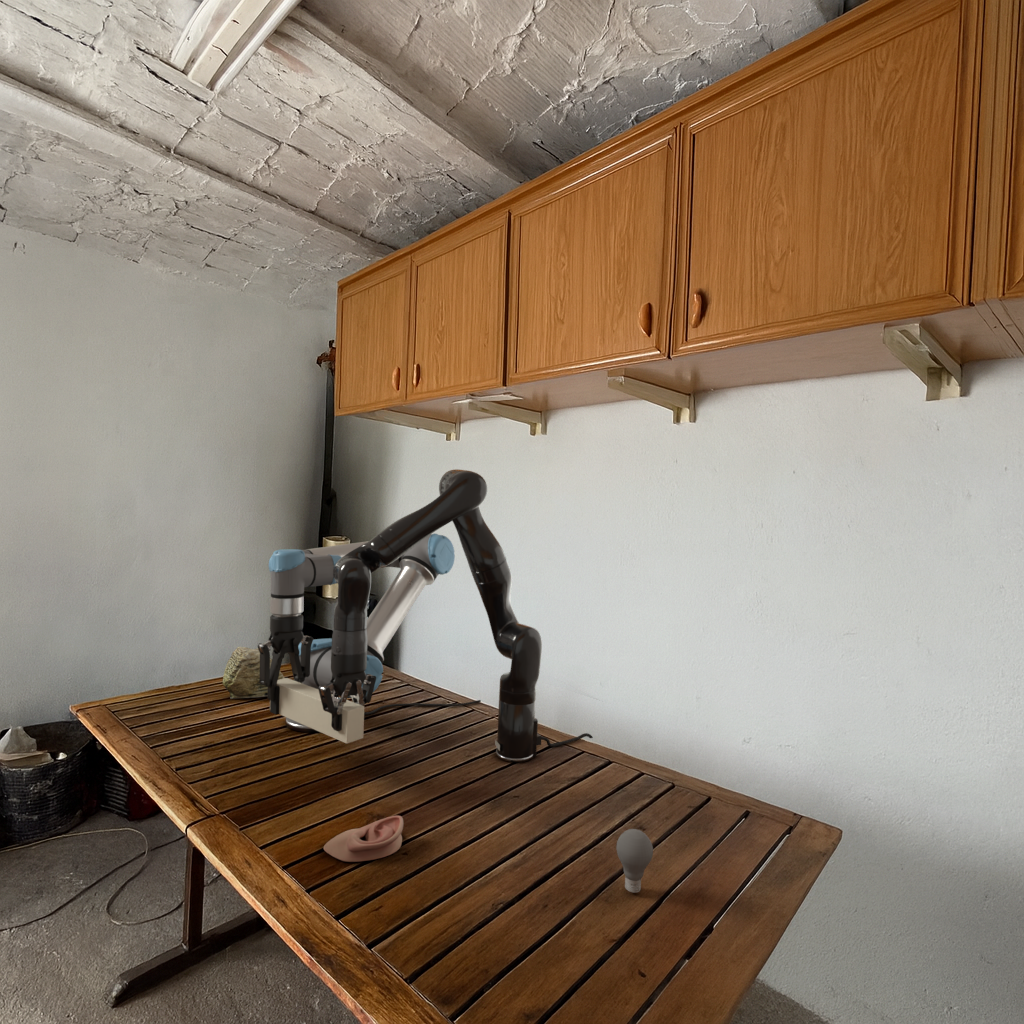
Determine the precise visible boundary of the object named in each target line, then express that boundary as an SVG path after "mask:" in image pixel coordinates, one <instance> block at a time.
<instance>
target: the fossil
mask: <svg viewBox="0 0 1024 1024" xmlns="http://www.w3.org/2000/svg"><path fill="white" fill-rule="evenodd" d="M271 662H272V658H271V657H270V666H271ZM222 676H223V677H222V685H223V687H224V688H225V690H226V691H228V693H229V698H230V699H250V698H264V697H267V694H268V687H267V686H264V685H262V684H260V652H259V649H258V647H257V648H251V647H247V646H246V647H245V646H238V647H237V648H236V649H235V650H233V651H232V653H231V656H230V657H229V659H228V660H227V663H226V666H225V668H224V671H223V675H222ZM284 678H286V677H285V676H284V674H283V673H282V672H281V671H280V672H279V677H278V680H279V679H284Z"/></svg>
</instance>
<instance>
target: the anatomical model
mask: <svg viewBox="0 0 1024 1024" xmlns="http://www.w3.org/2000/svg"><path fill="white" fill-rule="evenodd" d="M403 829H404V818H403V816H401V815H392V816H391V815H390V816H388V817H384V818H381V819H379V820H376V821H373V822H371V823H368V824H367V825H364V826H362V827H359V828H352V829H348V830H345V831H343V832H341V833H339V834H337V835H335V836H334V837H332V838H330V840H328V841H327V842H326V843H325V844H324V846H323V850H324V852H326V853H327V854H328V855H330V856H331V857H333V858H335V859H337V860H339V861H341V862H346V863H356V862H366V861H373V860H374V861H375V860H377V859H378V860H379V859H382V858H385V857H387V856H390V855H392V854H395V853H396V852H398V850H399V849H401V846H402V843H403V836H402V833H403Z"/></svg>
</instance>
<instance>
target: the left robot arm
mask: <svg viewBox="0 0 1024 1024" xmlns="http://www.w3.org/2000/svg"><path fill="white" fill-rule="evenodd" d="M368 541H369V540H368ZM368 541H360V542H353V543H352V542H351V543H344V544H336V545H330V546H323V547H314V548H307V549H297V548H296V549H295V548H289V549H287V548H286V549H285V548H282V549H276V550H274V551H273V552H272V554H271V556H270V558H269V560H268V570H269V573H270V609H269V610H270V611H269V613H270V614H271V615H269V632H270V635H269V637H268V640H267V641H265V642H263V643H262V642H260V643H257V648H258V649H259V652H260V684H262V685H264V686H267V687H268V694H267V696H266V698H267V700H268V701H269V712H270V713H272V714H274V715H280V714H279V693H280V687H279V686H277V681H278V677H279V672H281V667H282V664H283V659H284V658H285V655H286V654H287V655H288V656H289V662H290V667H291V671H292V678H293V680H294V681H297V682H299V683H302V684H305V685H308V686H310V687H313V688H316V689H318V688H319V686H321V685H322V686H325V685H327V684H328V683H330V680H331V678H332V671H331V648H332V637H329V638H317V639H316V638H315V639H314V637H312V636H310V635H304V632H303V629H304V615H303V612H304V607H305V606H304V605H305V604H304V602H305V601H304V600H305V599H304V597H305V588H311V587H321V586H332V585H335V584H336V585H337V584H338V583H337V582H336V581H335V579H334V577H333V569H334V566H335V564H336V563H337V561H338V560H339V559H341V558H342V557H343V556H345V555H346V554H348V553H349V552H351V551H352V550H354V549H356V548H358V547H359V546H361V545H363V544H365V543H367V542H368ZM455 557H456V555H455V547H454V545H453V542H452V541H451V540H450V538H449V537H447V536H445V535H444V534H443V535H442V534H438V533H432V534H430V535H429V536H428V537H426V538H425V539H423V540H422V541H420V542H419V543H418V544H416V545H415V546H414V547H413V548H411V549H410V550H409V551H407V552H406V553H405V554H403V555H402V556H401V557H399V558H398V559H397V560H396V561H394V562H393V563H391V564H389V565H387V566H382V567H380V568H379V569H383V568H396V569H400V570H399V571H398V573H397V575H396V576H395V577H394V579H393V580H392V582H391V583H390V585H389V586H388V588H387V590H386V591H385V592H384V594H383V595H382V597H381V598H380V600H378V603H377V604H376V606H375V607H374V609H373V610H372V612H371V613H370V614H369V616H367V668H366V670H365V674H370V675H373V676H376V682H375V686H374V690H373V693H374V692H375V691H377V689H378V687H379V686H380V684H381V682H382V679H383V677H384V676H383V675H382V674H383V673H384V665H383V663H384V661H385V657H384V651H385V649H386V648H387V646H388V645H389V643H390V642H391V640H392V638H393V637H394V635H395V634H396V632H397V631H398V629H399V627H400V626H401V625H402V623H403V621H404V620H405V618H406V617H407V615H408V614H409V612H410V611H411V609H412V607H413V606H414V604H415V603H416V601H417V599H418V598H419V596H420V595H421V593H422V592H423V590H424V589H425V587H426V586H429V585H430V586H431V585H433V583H434V582H435V581H436V579H437V577H438V576H439V575H442V576H443V575H445V574H448V573H449V572H450V571H451V570H452V568H453V567H454V564H455ZM271 647H272V653H271V652H270V651H271ZM271 656H272V658H271ZM270 658H271V659H272V662H271V666H270ZM361 687H363V684H362V686H361ZM332 692H334V689H332ZM332 695H333V693H332ZM366 695H367V693H366ZM347 699H352V698H351V696H349V697H347ZM479 703H481V699H477V700H472V701H468V702H461V703H460V702H459V703H423V702H422V703H421V702H420V703H419V702H418V703H413V702H411V703H392V704H391V703H390V704H385V705H382V706H380V707H377V708H375V709H373V710H371V711H364V716H368V715H372V714H375V713H377V712H378V711H381V710H383V709H386V708H392V707H394V708H395V707H413V706H414V707H461V706H462V707H464V706H469V705H474V704H479ZM285 726H286V728H287V729H289V730H291V731H294V732H295V731H296V732H301V733H316V732H319V731H317V730H314V729H312V728H310V727H307V726H305V725H303V724H300V723H298V722H296V721H294V720H291V719H289V718H287V717H285Z"/></svg>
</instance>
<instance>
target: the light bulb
mask: <svg viewBox="0 0 1024 1024" xmlns="http://www.w3.org/2000/svg"><path fill="white" fill-rule="evenodd" d="M615 849H616V854H617V857H618V859H619V861H620V863H621V865H622V867H623V873H624V874H623V875H624V876H625V878H624V888H625V890H627V891H628V892H630V893H634V894H635V893H639V892H640V891H641V889H642V887H641V886H642V879H643V877H644V875H645V871H646V868H647V867H648V866H649V864H650V863H651V861H652V859H653V855H654V847H653V843H652V841H651V838H649V836H648V835H647V834H646V833H645V832H643V831H642V830H641V829H636V828H629V829H627V830H625V831H623V832H622V833H621V834H620V835H619V837H618V839H617V841H616V847H615Z"/></svg>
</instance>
